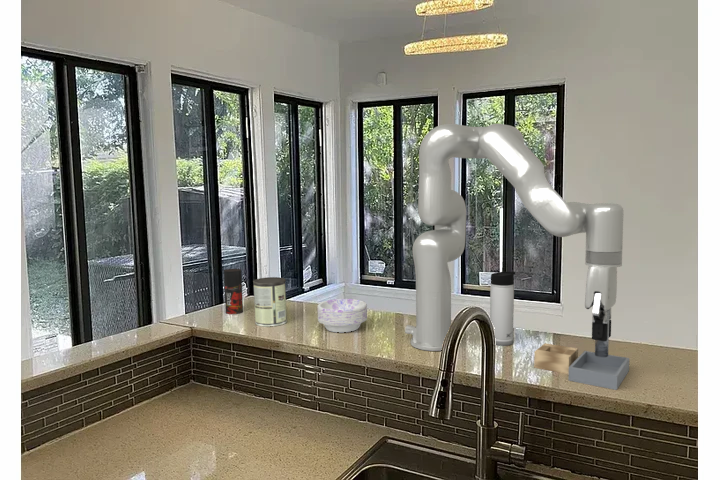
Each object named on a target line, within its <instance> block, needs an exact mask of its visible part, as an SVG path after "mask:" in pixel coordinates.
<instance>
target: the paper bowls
mask: <svg viewBox="0 0 720 480" xmlns="http://www.w3.org/2000/svg"><path fill="white" fill-rule="evenodd" d="M316 307H317V310H316V311H317V322H318V323H319V324H323V325H324V327H325V329H326V330H327V331H329V332H332V333H337V332H339V334H341V333H344V332H346V333H352V332H354V331H357V330H358V329H359V328H360V327H361V325H362V323H364V322H366V321H367V319H368V305H367V302H365V301H363V300H361V299H356V298H355V299H354V298H336V299H335V298H334V299H328V300H324V301H321V302H320V303H318V305H316ZM351 331H352V332H351Z"/></svg>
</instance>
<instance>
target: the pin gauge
mask: <svg viewBox="0 0 720 480" xmlns="http://www.w3.org/2000/svg"><path fill="white" fill-rule="evenodd" d="M603 308H604V307H600V309H603ZM603 310H604V309H603ZM609 310H610V309H609ZM609 310H608V311H607V321H606V324H608V338H607V341H599V340H594V341H595V342H594V352H595V356H597V357H608V355H609V344H610V343H609V340H610V337H609ZM601 314H602V315H603V313H601Z"/></svg>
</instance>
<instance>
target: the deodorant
mask: <svg viewBox="0 0 720 480" xmlns="http://www.w3.org/2000/svg"><path fill="white" fill-rule="evenodd" d="M242 276H243V275H242V269H241V268H228V269H224V270H223V277H224V278H223V279H224V280H223V282H224V301H225V302H224V304H225V306H224V307H225V314H227V315H239V314H243V312H244V304H243V303H244V302H243V301H244V300H243V299H244V298H243V281H242V280H243V277H242Z"/></svg>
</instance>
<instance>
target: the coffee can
mask: <svg viewBox="0 0 720 480" xmlns="http://www.w3.org/2000/svg"><path fill="white" fill-rule="evenodd" d="M252 282H253V283H252V284H253V295H254V296H253V297H254V298H253V300H254V319H255V320H254V321H255V326H258V327H263V328H264V327H265V328H266V327H267V328H270V326H273V327H278V326H283V325H285V324H286V323H288V320H287V316H288V315H287V296H286V295H287V292H286V290H287V289H286V282H287V279H286V278H284V277H279V276H278V277H277V276H276V277H275V276H272V277H271V276H269V277H260V278H256V279H254V280H252Z"/></svg>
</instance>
